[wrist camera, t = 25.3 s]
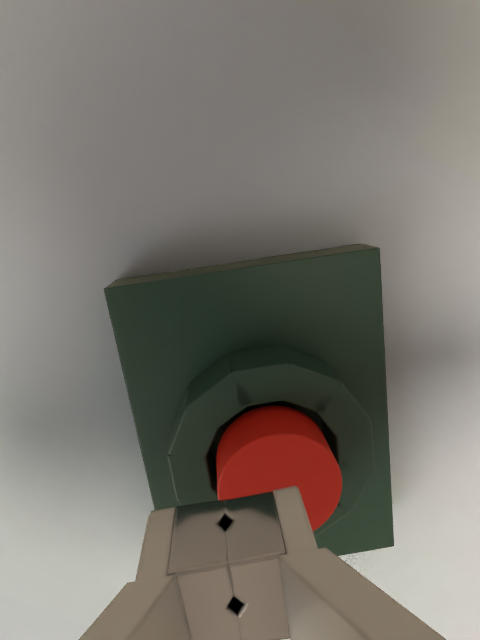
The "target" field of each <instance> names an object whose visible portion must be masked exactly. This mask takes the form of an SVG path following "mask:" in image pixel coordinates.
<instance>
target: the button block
mask: <svg viewBox="0 0 480 640" xmlns="http://www.w3.org/2000/svg"><path fill="white" fill-rule="evenodd" d="M104 292H105V296H106V301H107V305H108V309H109V314H110V318H111V322H112V327H113V331H114V335H115V340H116V344H117V348H118V353H119V357H120V361H121V366H122V370H123V374H124V379H125V383H126V387H127V392H128V396H129V400H130V405H131V409H132V413H133V418H134V422H135V426H136V431H137V435H138V439H139V444H140V448H141V452H142V457H143V461H144V465H145V470H146V474H147V478H148V483H149V487H150V491H151V496H152V500H153V504H154V509H155V510H159V509H165V508H172V507H177V506H183V505H189V504H196V503H203V502H210V501H216V500H218V495H217V463H216V457H217V448H218V445H219V442H220V439H221V437H222V435H223V433H224V432H225V430H226V429H227V428H228V427H229V425H230V424H231V423H232V422H233V421H235V420H236V419H237V418H238V417H240V416H241V415H243V414H244V413H246V412H248V411H250V410H253V409H256V408H259V407H264V406H272V405H273V406H286V407H290V408H294V409H296V410H299V411H301V412H303V413H304V414H306V415H307V416H309V417H310V418H311V419H312V420H313V421H314V422H315V423H316V424H317V425H318V427H319V428H320V429H321V431H322V433H323V435H324V437H325V439H326V441H327V443H328V445H329V447H330V449H331V451H332V453H333V455H334V457H335V459H336V461H337V463H338V465H339V468H340V471H341V475H342V491H341V496H340V499H339V502H338V504H337V507H336V508H335V510H334V512H333V513H332V515H331V516H330V517H329V518H328V520H327V521H326V522H325V523H324V524H323V525H321V526H320V527H319V528H317V529H316V530H315V531H313V534H314V538H315V541H316V544H317V547H318V549H320V548H327V549H329V550H330V551H331V552H333V553H334V554H335V555H336V556H340V555H346V554H352V553H358V552H363V551H369V550H375V549H381V548H386V547H392V546H394V537H393V516H392V495H391V474H390V453H389V432H388V411H387V389H386V368H385V347H384V326H383V305H382V284H381V263H380V248H379V247H374V246H369V245H364V244H356V245H349V246H342V247H336V248H329V249H322V250H315V251H309V252H302V253H295V254H288V255H282V256H275V257H268V258H261V259H255V260H248V261H241V262H234V263H228V264H221V265H214V266H207V267H201V268H194V269H187V270H180V271H174V272H167V273H160V274H153V275H147V276H140V277H133V278H126V279H120V280H116V281H114V282H113V283H111V284H110V285H109V286H107V287H106V288H104Z"/></svg>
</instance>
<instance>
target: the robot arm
mask: <svg viewBox="0 0 480 640" xmlns="http://www.w3.org/2000/svg"><path fill="white" fill-rule="evenodd" d="M288 638H290V639H291V640H446V639H445V638H444V637H442V636H441V635H440V634H438V633H437V632H436V631H435V630H433V629H432V628H431V627H429V626H428V625H427V624H425V623H424V622H423V621H421V620H420V619H419V618H418V617H416V616H415V615H414V614H412V613H411V612H410V611H408V610H407V609H406V608H404V607H403V606H402V605H401V604H399V603H398V602H397V601H395V600H394V599H393V598H391V597H390V596H389V595H387V594H386V593H385V592H384V591H382V590H381V589H380V588H378V587H377V586H376V585H374V584H373V583H372V582H370V581H369V580H368V579H367V578H365V577H364V576H363V575H361V574H360V573H359V572H357V571H356V570H355V569H353V568H352V567H351V566H350V565H348V564H347V563H346V562H344V561H343V560H342V559H340V558H339V557H338V556H336V555H335V554H334V553H333V552H331V551H330V550H329V549H327V548H320V549H318V547H317V544H316V541H315V538H314V534H313V531H312V528H311V525H310V522H309V519H308V516H307V513H306V510H305V506H304V503H303V500H302V497H301V494H300V491H299V488H298V487H297V486H291V487H286V488H281V489H276V490H273V492H272V491H269V492H263V493H258V494H252V495H247V496H241V497H236V498H230V499H223V500H216V501H210V502H203V503H196V504H189V505H183V506H177V507H172V508H165V509H159V510H153V511H151V513H150V514H149V516H148V520H147V525H146V530H145V535H144V540H143V545H142V550H141V555H140V560H139V565H138V570H137V575H136V580H135V582H130V583H127V584H126V585H125V586H124V587H123V588H122V590H121V591H120V592H119V593H118V594H117V595H116V597H115V598H114V599H113V600H112V601H111V603H110V604H109V605H108V606H107V607H106V608H105V610H104V611H103V612H102V613H101V614H100V615H99V617H98V618H97V619H96V620H95V621H94V622H93V624H92V625H91V626H90V627H89V628H88V629H87V631H86V632H85V633H84V634H83V635H82V637H81V638H80V639H79V640H282V639H288Z"/></svg>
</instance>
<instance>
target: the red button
mask: <svg viewBox="0 0 480 640" xmlns="http://www.w3.org/2000/svg"><path fill="white" fill-rule="evenodd" d="M216 463H217V495H218V500H223V499H230V498H236V497H241V496H247V495H252V494H258V493H263V492H269V491H272V492H273V490H276V489H281V488H286V487H291V486H297V487H298V488H299V491H300V494H301V497H302V500H303V503H304V506H305V510H306V513H307V516H308V519H309V522H310V525H311V528H312V531H315V530H316V529H317V528H319V527H320V526H321V525H323V524H324V523H325V522H326V521H327V520H328V518H329V517H330V516H331V515H332V513H333V512H334V510H335V508H336V507H337V504H338V502H339V499H340V496H341V491H342V475H341V471H340V468H339V465H338V463H337V461H336V459H335V457H334V455H333V453H332V451H331V449H330V447H329V445H328V443H327V441H326V439H325V437H324V435H323V433H322V431H321V429H320V428H319V427H318V425H317V424H316V423H315V422H314V421H313V420H312V419H311V418H310V417H309V416H307V415H306V414H304V413H303V412H301V411H299V410H296V409H294V408H290V407H286V406H273V405H272V406H264V407H259V408H256V409H253V410H250V411H248V412H246V413H244V414H243V415H241V416H240V417H238V418H237V419H236V420H235V421H233V422H232V423H231V424H230V425H229V427H228V428H227V429H226V430H225V432H224V433H223V435H222V437H221V439H220V442H219V445H218V448H217V457H216Z"/></svg>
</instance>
